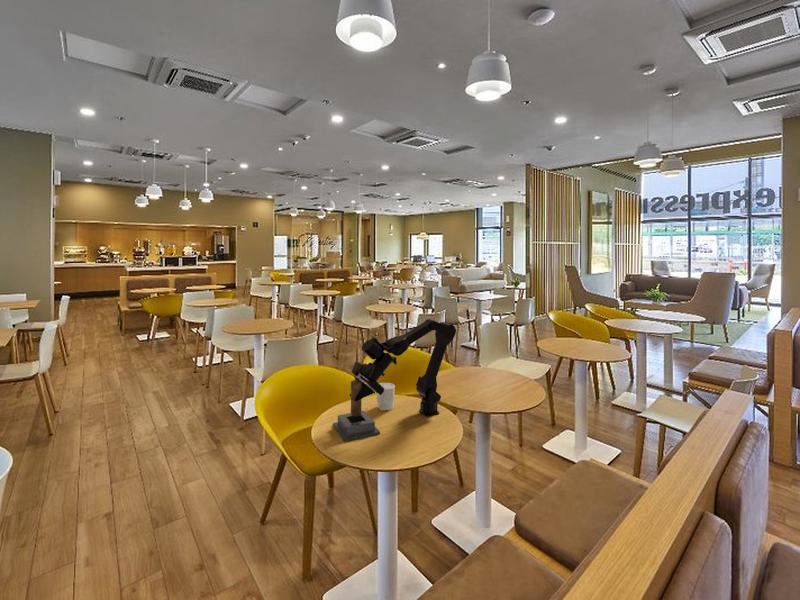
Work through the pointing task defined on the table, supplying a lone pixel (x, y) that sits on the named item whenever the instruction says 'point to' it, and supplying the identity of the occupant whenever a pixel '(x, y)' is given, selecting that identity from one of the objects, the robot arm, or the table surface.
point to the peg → (355, 389)
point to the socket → (355, 426)
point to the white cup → (386, 396)
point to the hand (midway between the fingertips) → (352, 398)
